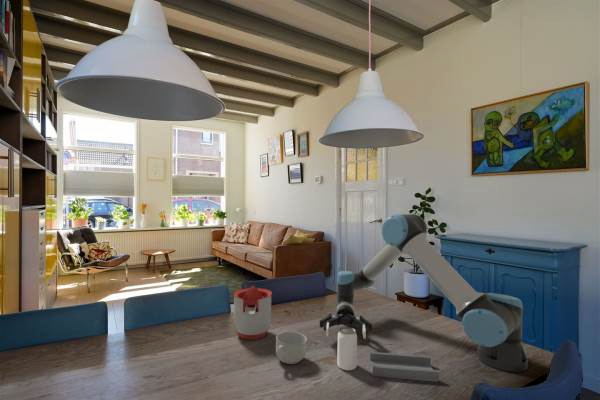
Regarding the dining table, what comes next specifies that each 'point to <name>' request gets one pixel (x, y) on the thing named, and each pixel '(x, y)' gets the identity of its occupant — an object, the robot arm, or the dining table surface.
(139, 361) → the dining table surface
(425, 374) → the tray
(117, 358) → the dining table surface
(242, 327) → the citrus juicer
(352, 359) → the can
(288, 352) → the teacup
